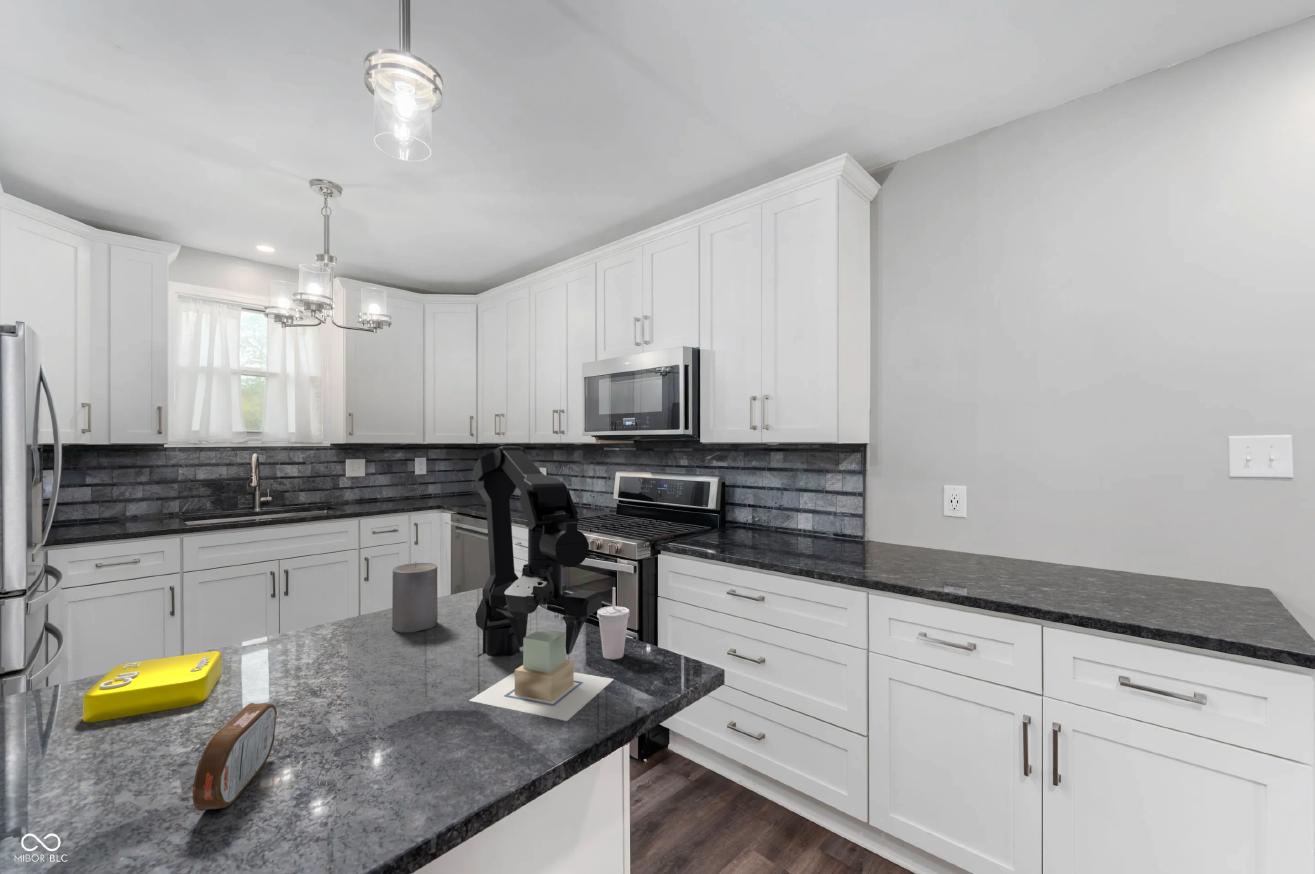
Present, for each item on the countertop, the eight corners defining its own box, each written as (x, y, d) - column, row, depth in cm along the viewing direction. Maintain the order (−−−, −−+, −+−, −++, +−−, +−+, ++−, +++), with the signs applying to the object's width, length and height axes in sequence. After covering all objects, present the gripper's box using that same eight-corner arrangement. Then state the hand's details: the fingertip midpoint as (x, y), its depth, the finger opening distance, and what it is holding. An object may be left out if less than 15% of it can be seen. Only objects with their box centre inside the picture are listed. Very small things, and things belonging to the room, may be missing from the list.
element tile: (204, 705, 90) (204, 675, 90) (77, 727, 83) (77, 694, 83) (223, 672, 103) (224, 646, 103) (115, 689, 96) (115, 661, 96)
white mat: (468, 706, 89) (468, 699, 89) (526, 669, 104) (526, 663, 104) (566, 727, 82) (566, 719, 82) (614, 684, 97) (614, 678, 97)
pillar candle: (406, 618, 135) (406, 556, 135) (445, 619, 134) (445, 557, 134) (383, 632, 125) (382, 565, 125) (424, 633, 124) (424, 566, 124)
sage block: (523, 668, 92) (523, 637, 92) (540, 657, 96) (540, 628, 97) (549, 672, 90) (549, 641, 90) (565, 661, 95) (565, 632, 95)
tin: (254, 754, 75) (255, 691, 75) (280, 751, 76) (281, 689, 76) (188, 829, 60) (189, 750, 61) (221, 824, 61) (222, 747, 61)
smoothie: (631, 654, 111) (632, 584, 112) (627, 667, 105) (627, 593, 105) (600, 653, 112) (600, 583, 112) (593, 666, 106) (593, 592, 106)
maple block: (514, 694, 91) (514, 669, 91) (538, 677, 98) (538, 655, 98) (551, 701, 89) (551, 676, 89) (573, 684, 95) (573, 660, 95)
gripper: (468, 561, 89) (467, 659, 89) (569, 571, 83) (568, 676, 82) (510, 549, 100) (509, 637, 100) (603, 557, 93) (603, 651, 93)
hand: (544, 650), depth 93 cm, fingers open, 9 cm apart
